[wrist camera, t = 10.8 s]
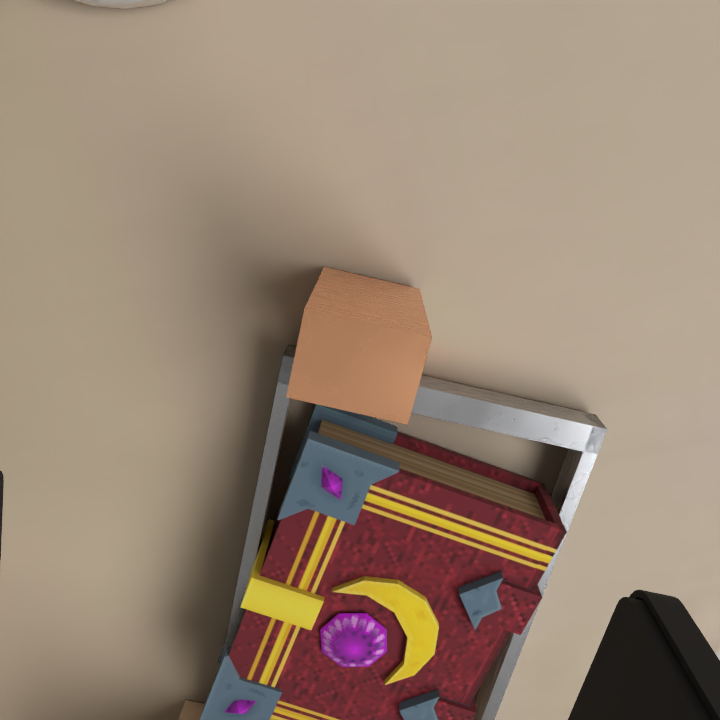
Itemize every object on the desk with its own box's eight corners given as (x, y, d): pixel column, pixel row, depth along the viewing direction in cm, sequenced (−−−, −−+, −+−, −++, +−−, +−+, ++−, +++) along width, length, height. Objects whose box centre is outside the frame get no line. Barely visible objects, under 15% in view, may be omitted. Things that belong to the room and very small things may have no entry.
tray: (304, 262, 26) (278, 302, 20) (624, 337, 27) (705, 400, 20) (213, 713, 34) (172, 851, 27) (463, 764, 35) (482, 911, 28)
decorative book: (548, 477, 30) (580, 540, 25) (416, 726, 35) (421, 819, 30) (316, 394, 29) (303, 443, 24) (214, 662, 34) (187, 747, 29)
